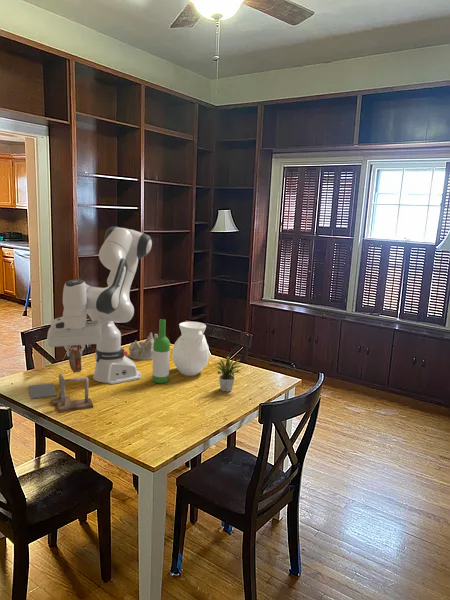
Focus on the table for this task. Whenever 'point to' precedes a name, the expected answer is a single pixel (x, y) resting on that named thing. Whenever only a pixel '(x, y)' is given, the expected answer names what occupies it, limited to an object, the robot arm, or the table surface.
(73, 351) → the tin
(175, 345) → the white ceramic vase
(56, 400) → the buzz wire frame
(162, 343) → the wine bottle
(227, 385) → the house plant
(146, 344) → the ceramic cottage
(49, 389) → the mat
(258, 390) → the table surface
